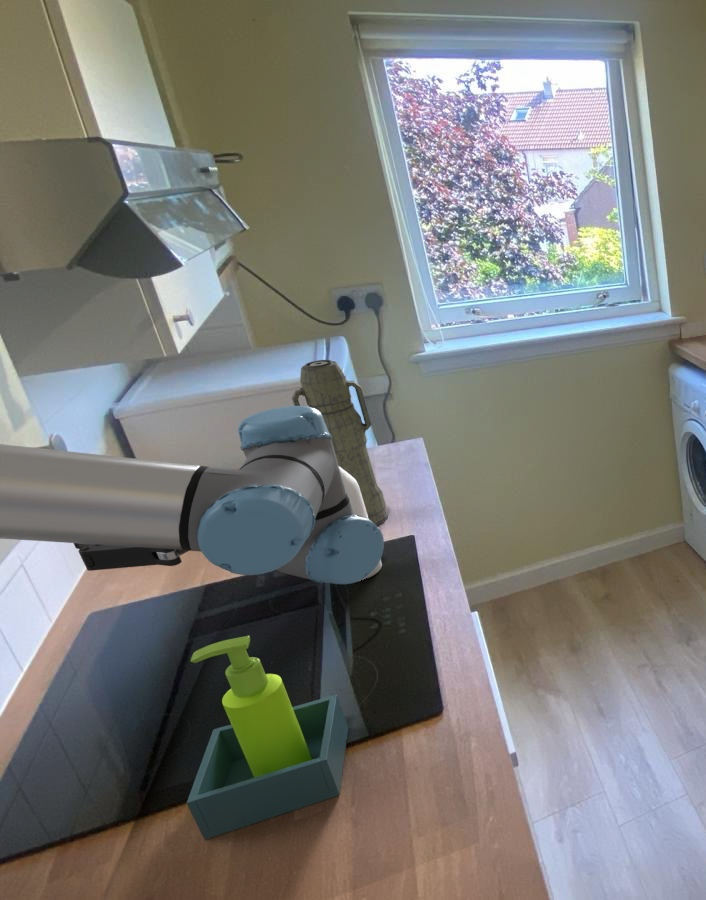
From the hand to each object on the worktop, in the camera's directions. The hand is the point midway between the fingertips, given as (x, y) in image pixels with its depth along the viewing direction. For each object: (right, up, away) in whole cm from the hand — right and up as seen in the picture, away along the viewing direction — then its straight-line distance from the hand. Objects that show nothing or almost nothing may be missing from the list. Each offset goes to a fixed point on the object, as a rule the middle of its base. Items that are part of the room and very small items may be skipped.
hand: (139, 510), depth 91 cm
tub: (+17, -34, +1) cm, 38 cm away
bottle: (-1, -16, +46) cm, 49 cm away
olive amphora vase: (-10, -8, +65) cm, 67 cm away
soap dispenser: (+17, -33, 0) cm, 38 cm away
